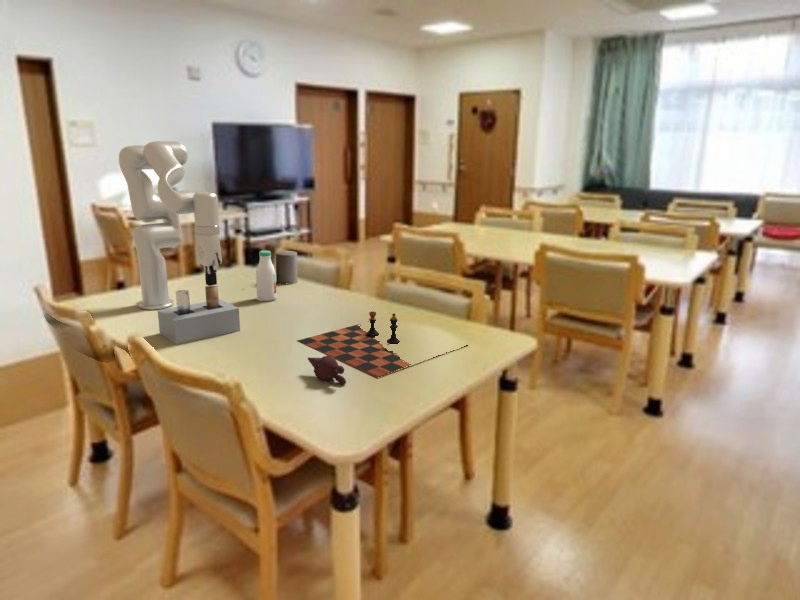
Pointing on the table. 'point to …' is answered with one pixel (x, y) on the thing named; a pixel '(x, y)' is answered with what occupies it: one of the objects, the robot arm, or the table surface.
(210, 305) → the brown rounded cylinder
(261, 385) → the table surface
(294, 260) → the pillar candle
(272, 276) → the milk bottle
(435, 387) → the table surface
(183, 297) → the steel peg
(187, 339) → the socket board
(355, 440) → the table surface
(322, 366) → the brown knobby figurine
